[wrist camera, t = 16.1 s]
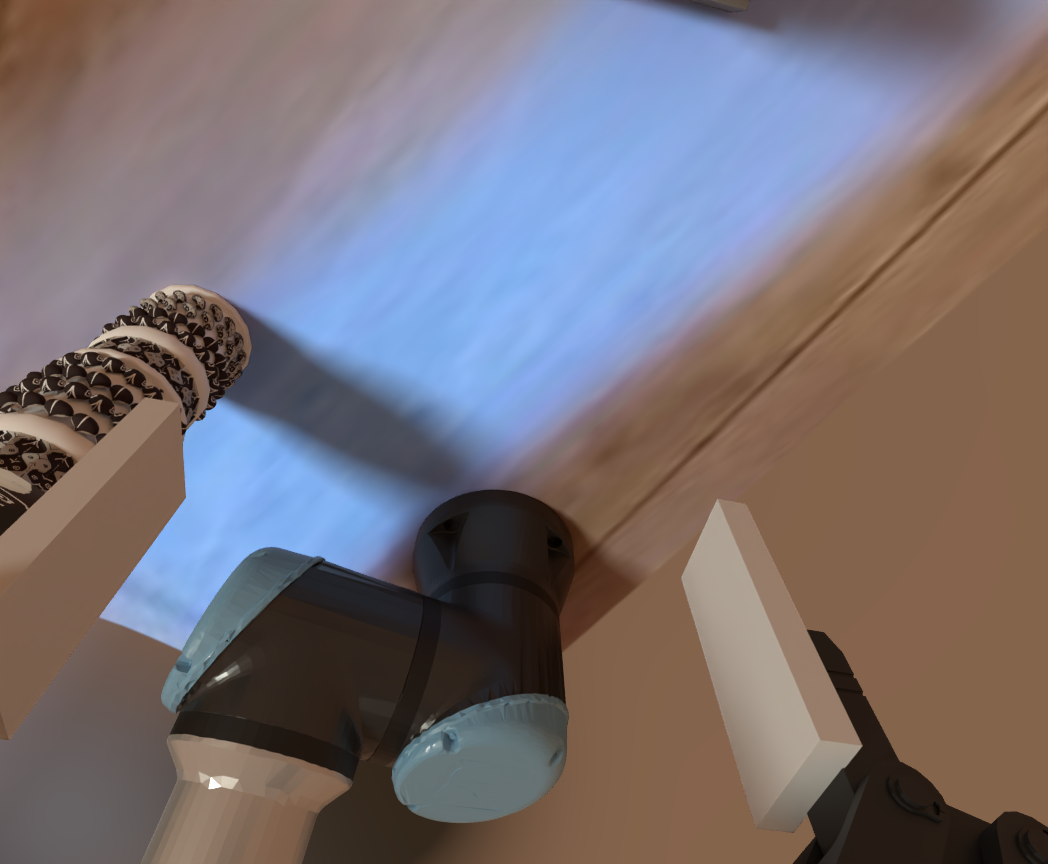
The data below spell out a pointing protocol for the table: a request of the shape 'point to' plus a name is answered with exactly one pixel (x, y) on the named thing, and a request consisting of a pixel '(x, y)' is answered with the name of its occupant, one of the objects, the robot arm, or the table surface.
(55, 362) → the decorative candle
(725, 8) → the gray block
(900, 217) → the table surface
